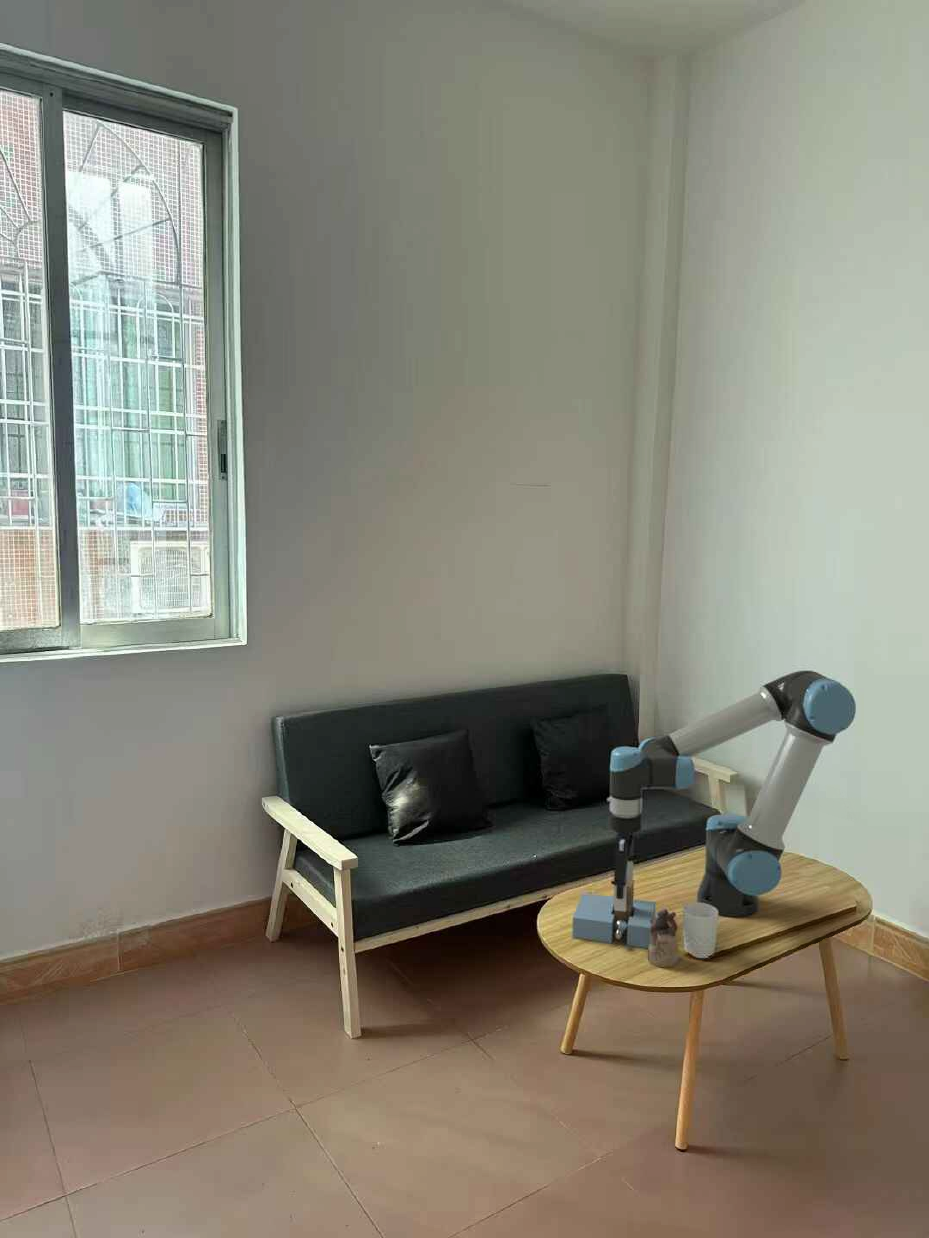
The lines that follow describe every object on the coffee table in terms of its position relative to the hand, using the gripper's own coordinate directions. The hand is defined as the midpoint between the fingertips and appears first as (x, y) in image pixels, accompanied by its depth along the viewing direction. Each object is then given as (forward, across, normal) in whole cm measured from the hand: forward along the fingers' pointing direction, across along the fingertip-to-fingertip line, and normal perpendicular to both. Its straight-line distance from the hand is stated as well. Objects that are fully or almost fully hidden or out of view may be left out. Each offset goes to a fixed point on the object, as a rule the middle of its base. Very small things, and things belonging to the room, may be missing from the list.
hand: (623, 897), depth 214 cm
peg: (+8, 0, 0) cm, 8 cm away
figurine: (+8, +11, +10) cm, 18 cm away
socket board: (+8, 0, -2) cm, 8 cm away
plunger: (+7, +6, 0) cm, 9 cm away
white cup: (+8, +5, +18) cm, 20 cm away
